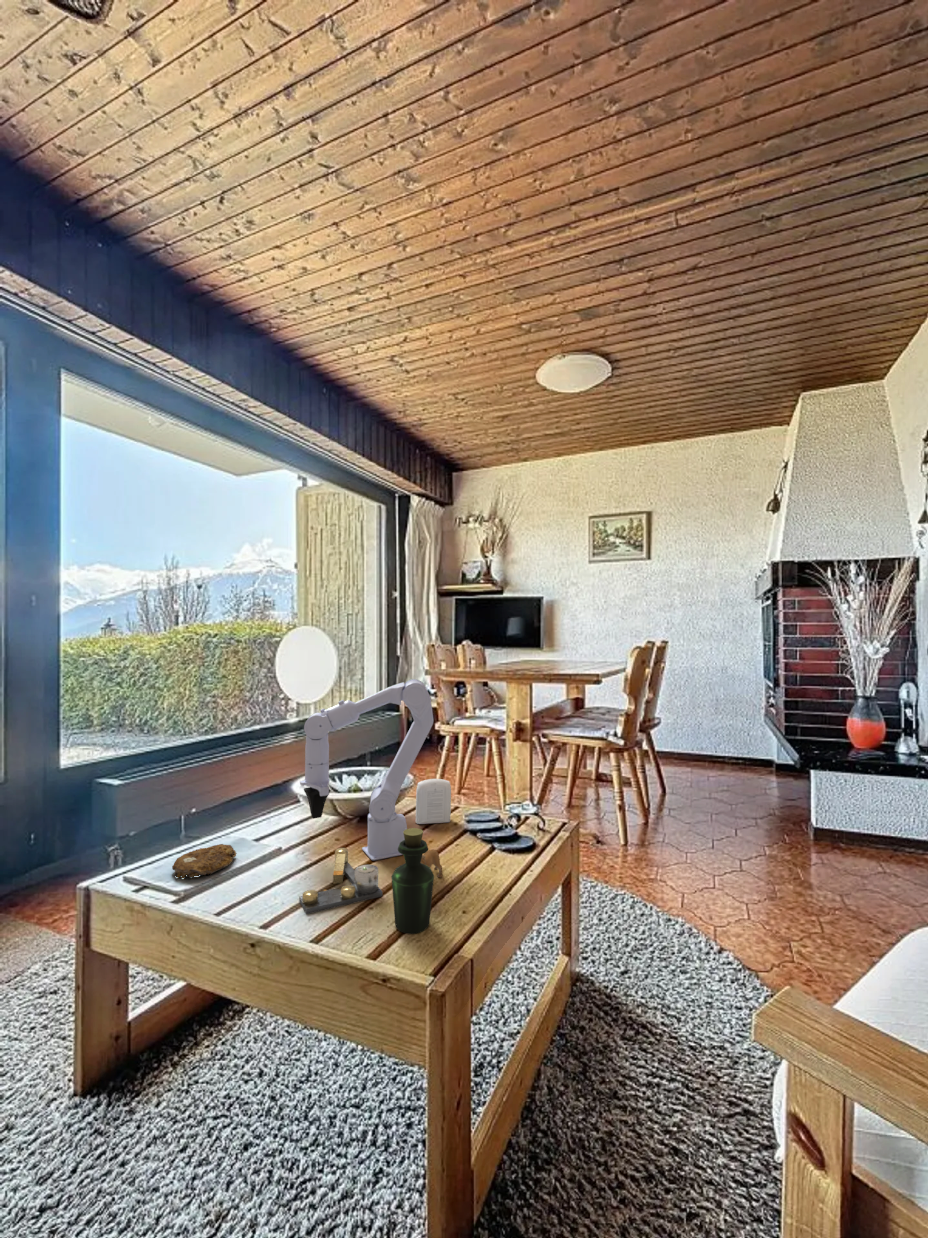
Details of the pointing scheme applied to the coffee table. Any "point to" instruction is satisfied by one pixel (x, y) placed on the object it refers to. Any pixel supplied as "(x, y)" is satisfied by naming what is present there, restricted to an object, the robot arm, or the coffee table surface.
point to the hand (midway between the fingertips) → (316, 817)
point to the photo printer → (433, 801)
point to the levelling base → (335, 895)
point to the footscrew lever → (340, 864)
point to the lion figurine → (432, 860)
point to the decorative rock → (204, 861)
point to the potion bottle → (412, 885)
